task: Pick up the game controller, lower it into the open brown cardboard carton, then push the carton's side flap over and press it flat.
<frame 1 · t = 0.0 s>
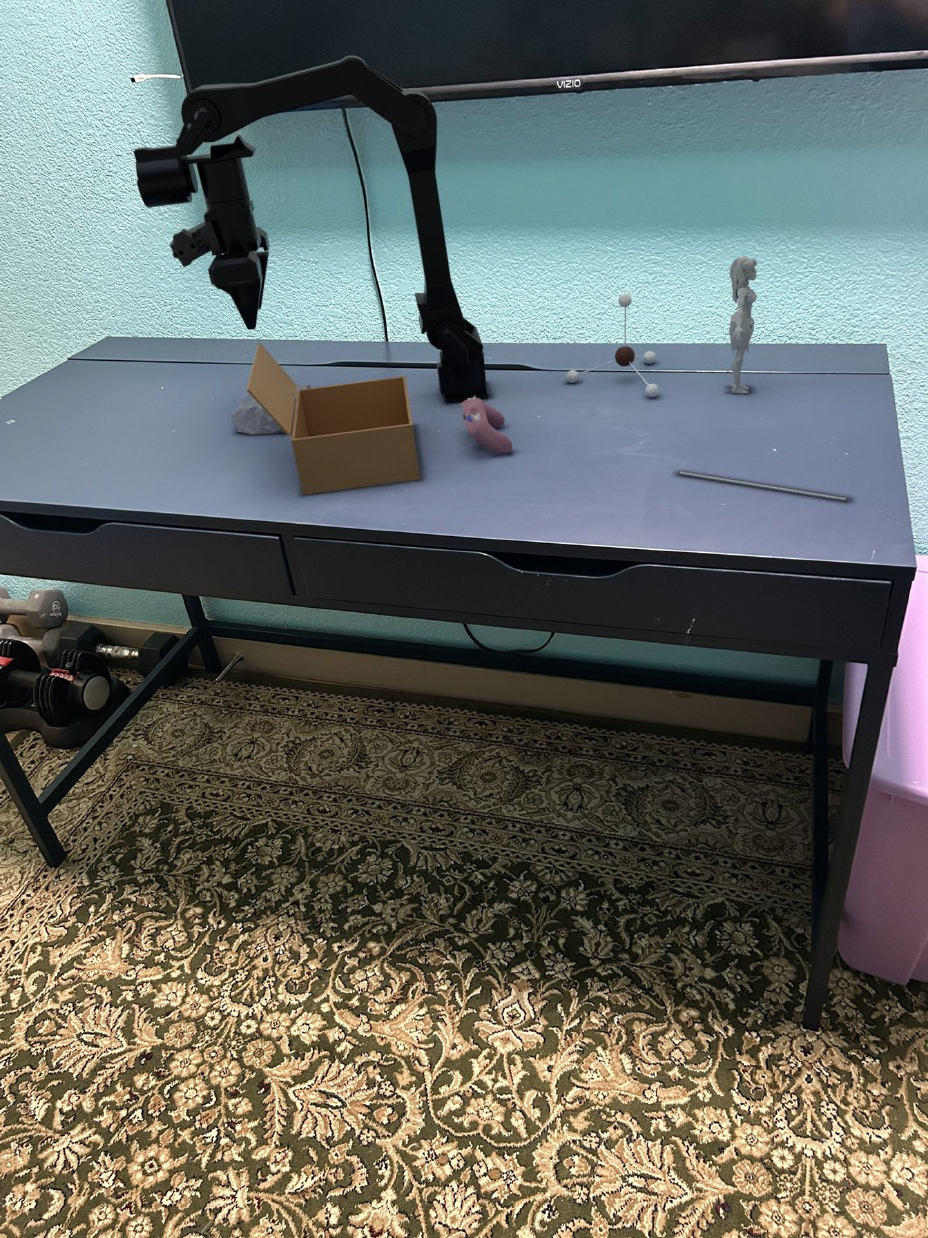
hand: (254, 318, 125), 15 cm above the table, tool pointing down, fingers open, 9 cm apart
carton: (360, 458, 120), on the table
human figurine: (734, 391, 126), on the table
video game controller: (487, 443, 120), on the table
stone block: (273, 419, 134), on the table
flap: (273, 387, 113), point 11 cm above the table, hinge at 120.0°
rod: (760, 490, 104), on the table
molecular model: (631, 385, 132), on the table
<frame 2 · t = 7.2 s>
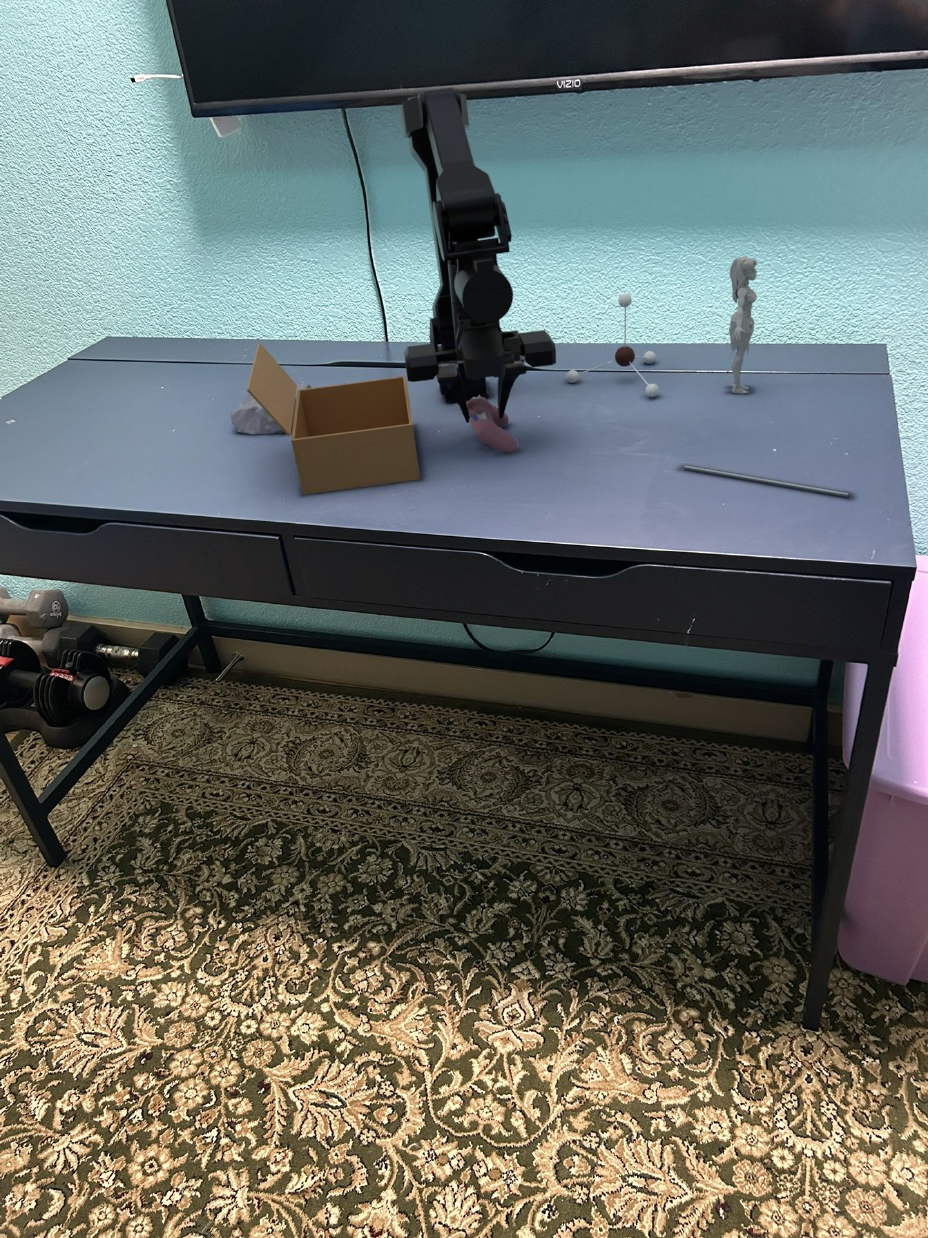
hand: (484, 419, 118), 3 cm above the table, tool pointing down, fingers closed on video game controller, 4 cm apart
video game controller: (491, 442, 120), on the table, touching gripper
rod: (763, 485, 104), on the table
everything else where it was.
when the fingers open (4 cm above the table, at t = 12.6 s): video game controller stays where it is, resting on carton.
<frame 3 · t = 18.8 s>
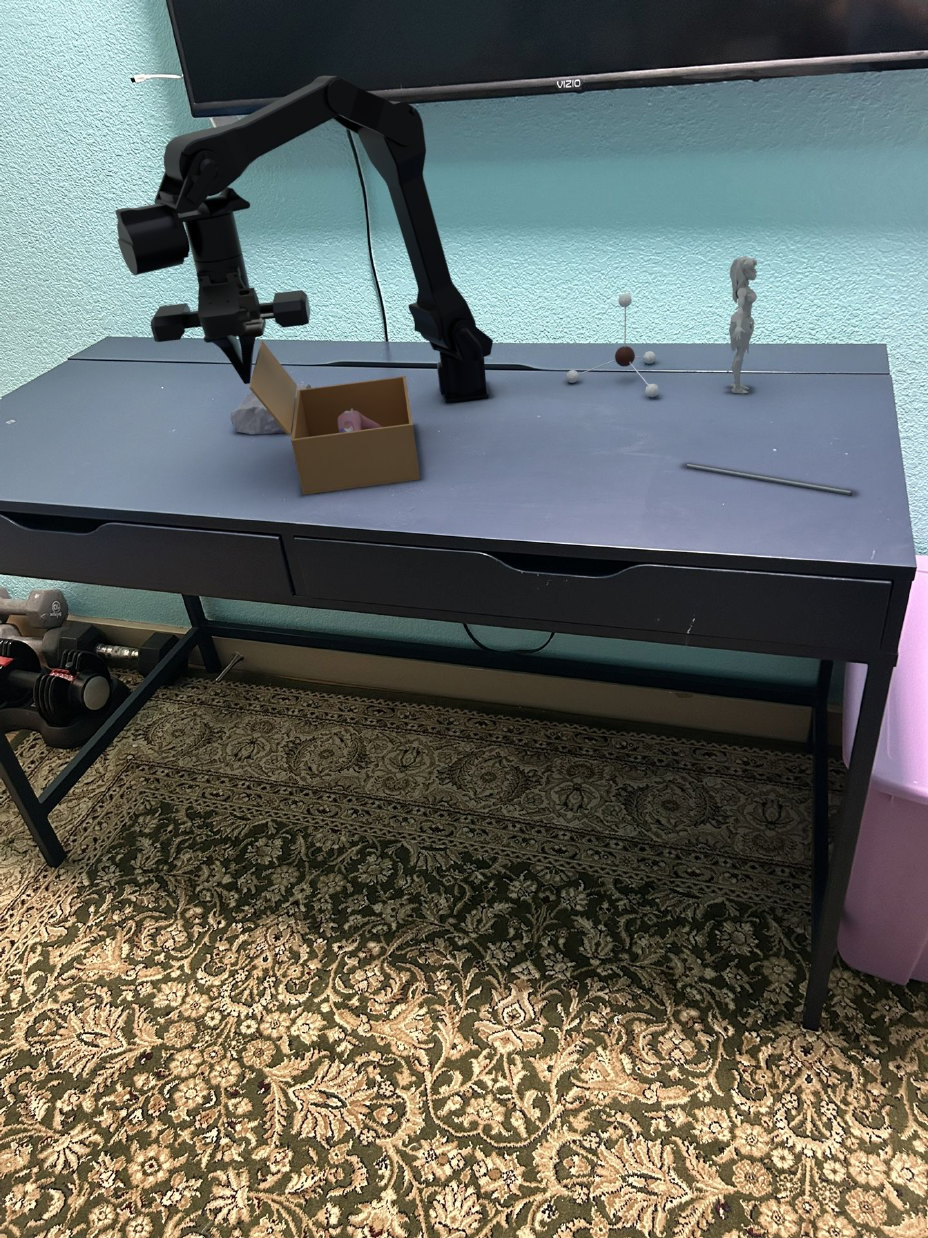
hand: (247, 382, 115), 11 cm above the table, tool pointing down, fingers closed
video game controller: (365, 456, 119), resting on carton
flap: (274, 386, 113), point 11 cm above the table, hinge at 116.6°, touching gripper
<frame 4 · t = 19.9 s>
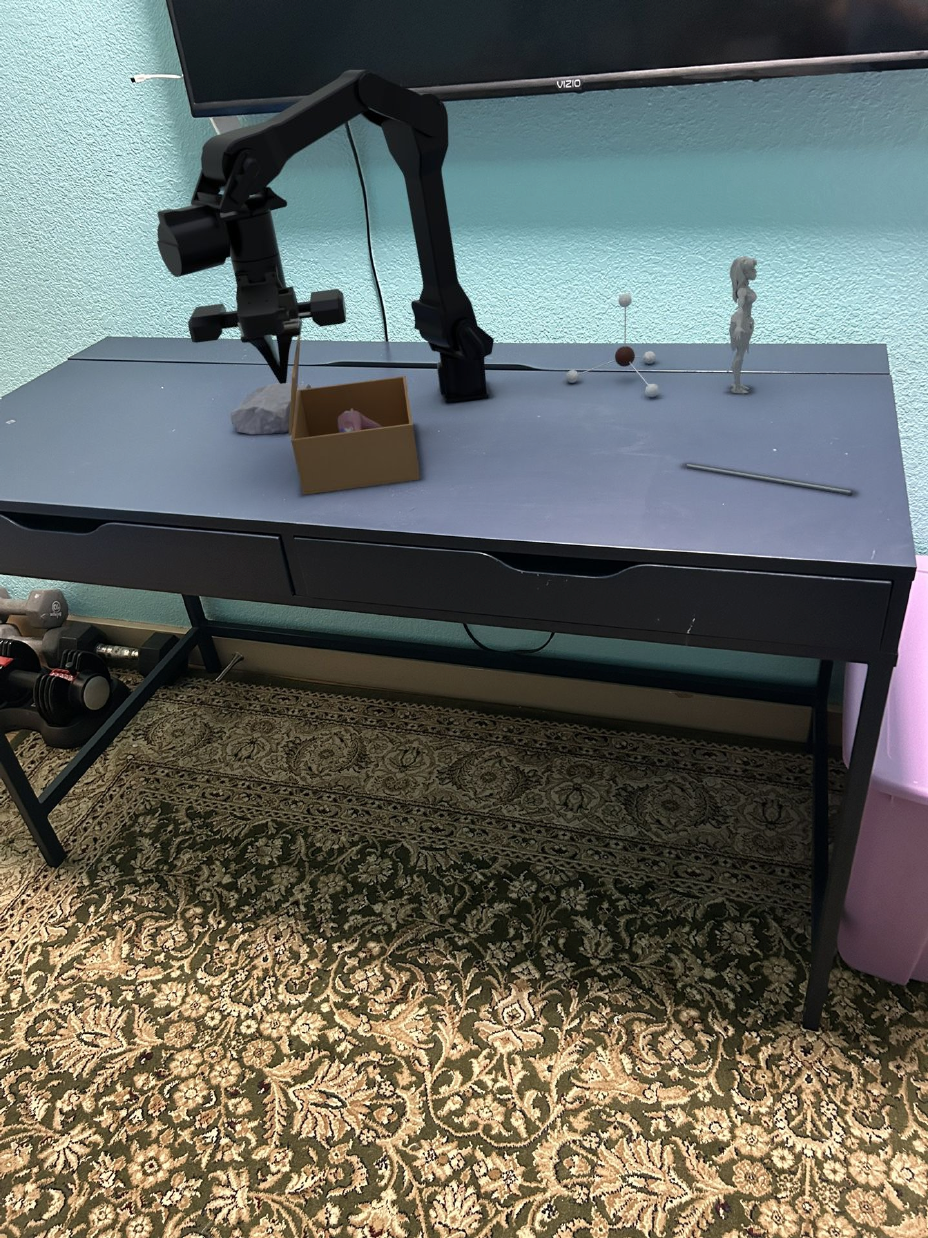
hand: (283, 382, 115), 11 cm above the table, tool pointing down, fingers closed
flap: (294, 381, 113), point 12 cm above the table, hinge at 75.5°
everything else where it was.
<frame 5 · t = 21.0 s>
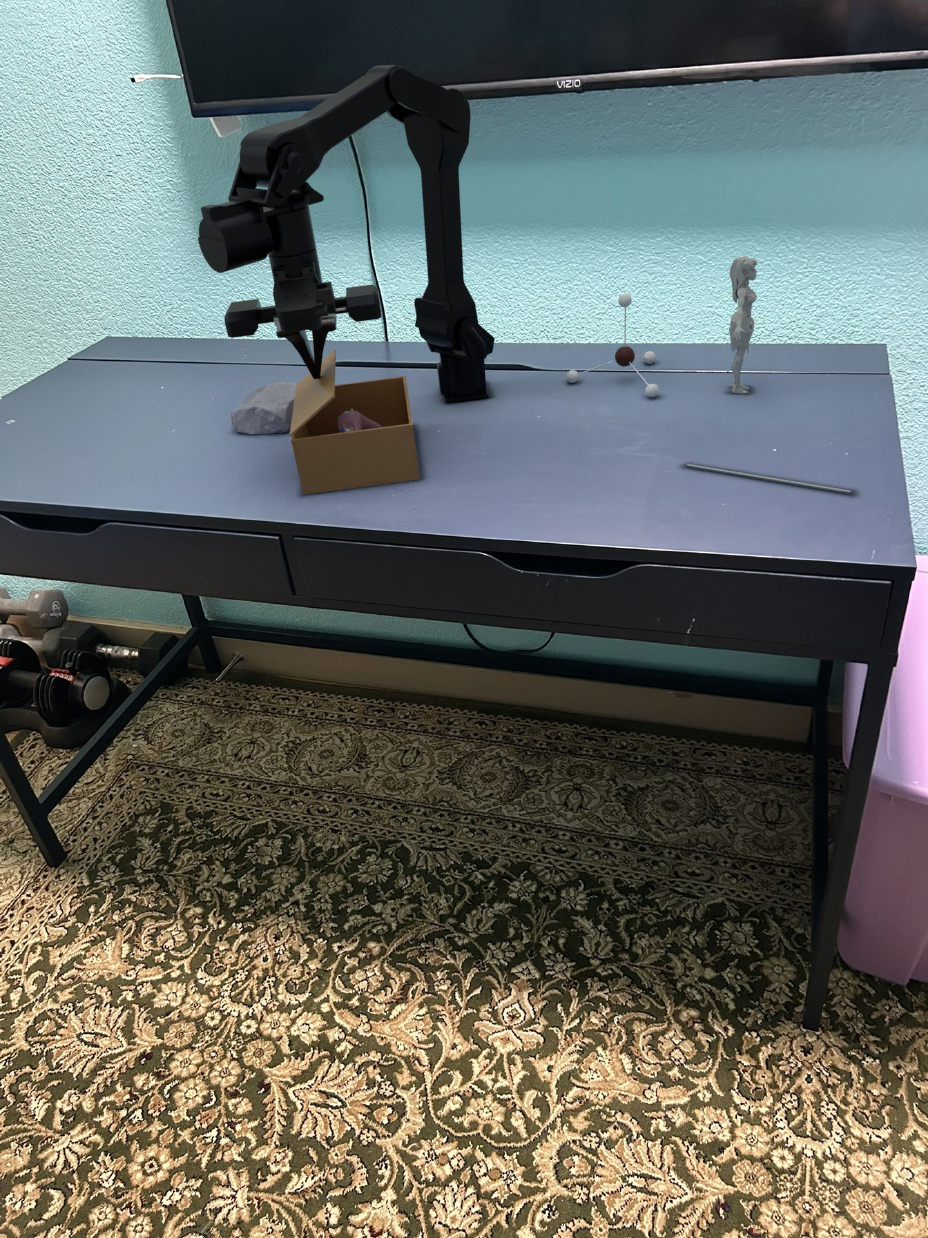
hand: (317, 378, 115), 11 cm above the table, tool pointing down, fingers closed
flap: (314, 390, 114), point 10 cm above the table, hinge at 34.6°, touching gripper
everything else where it was.
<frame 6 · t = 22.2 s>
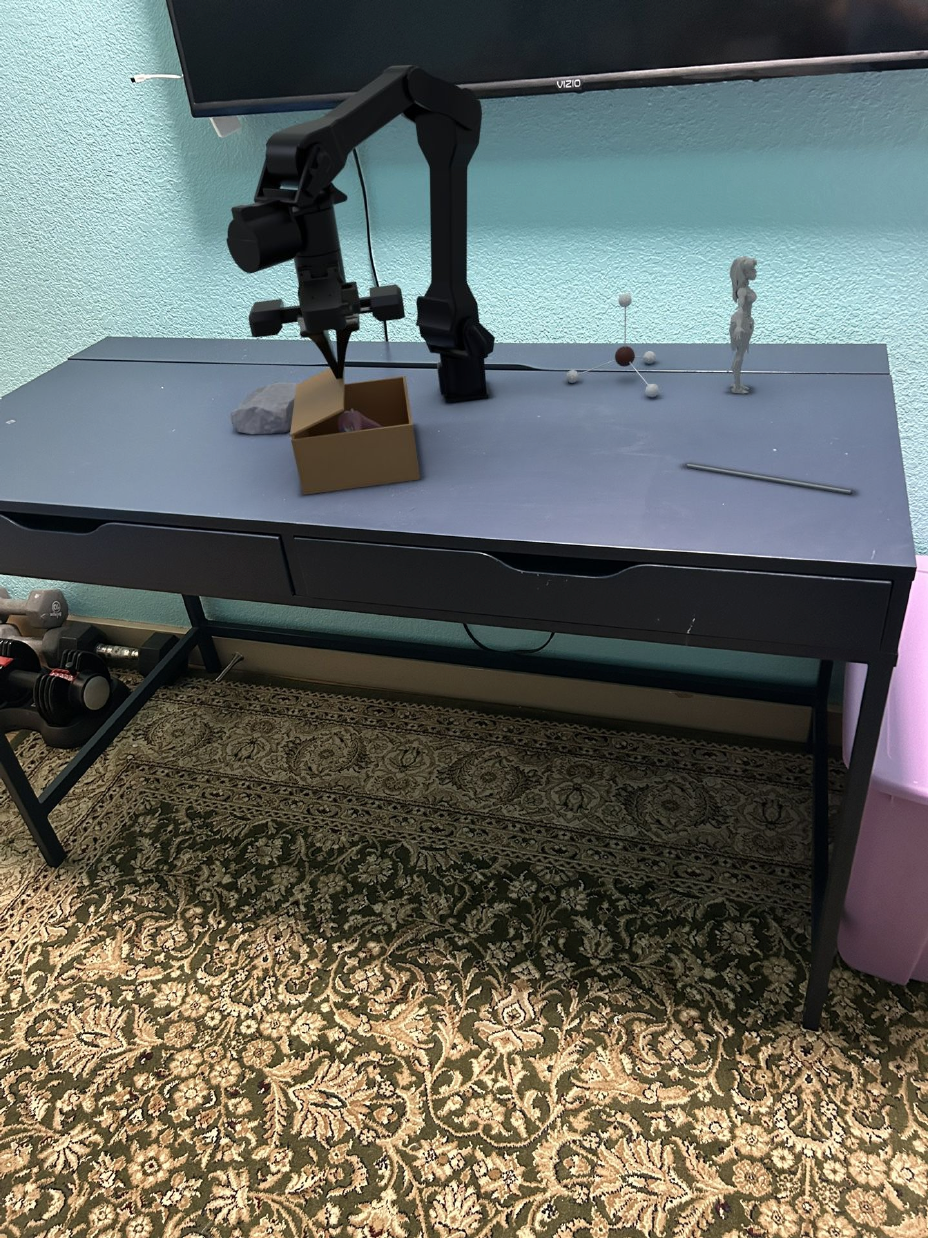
hand: (339, 377, 115), 10 cm above the table, tool pointing down, fingers closed
flap: (318, 396, 114), point 9 cm above the table, hinge at 19.4°
everything else where it was.
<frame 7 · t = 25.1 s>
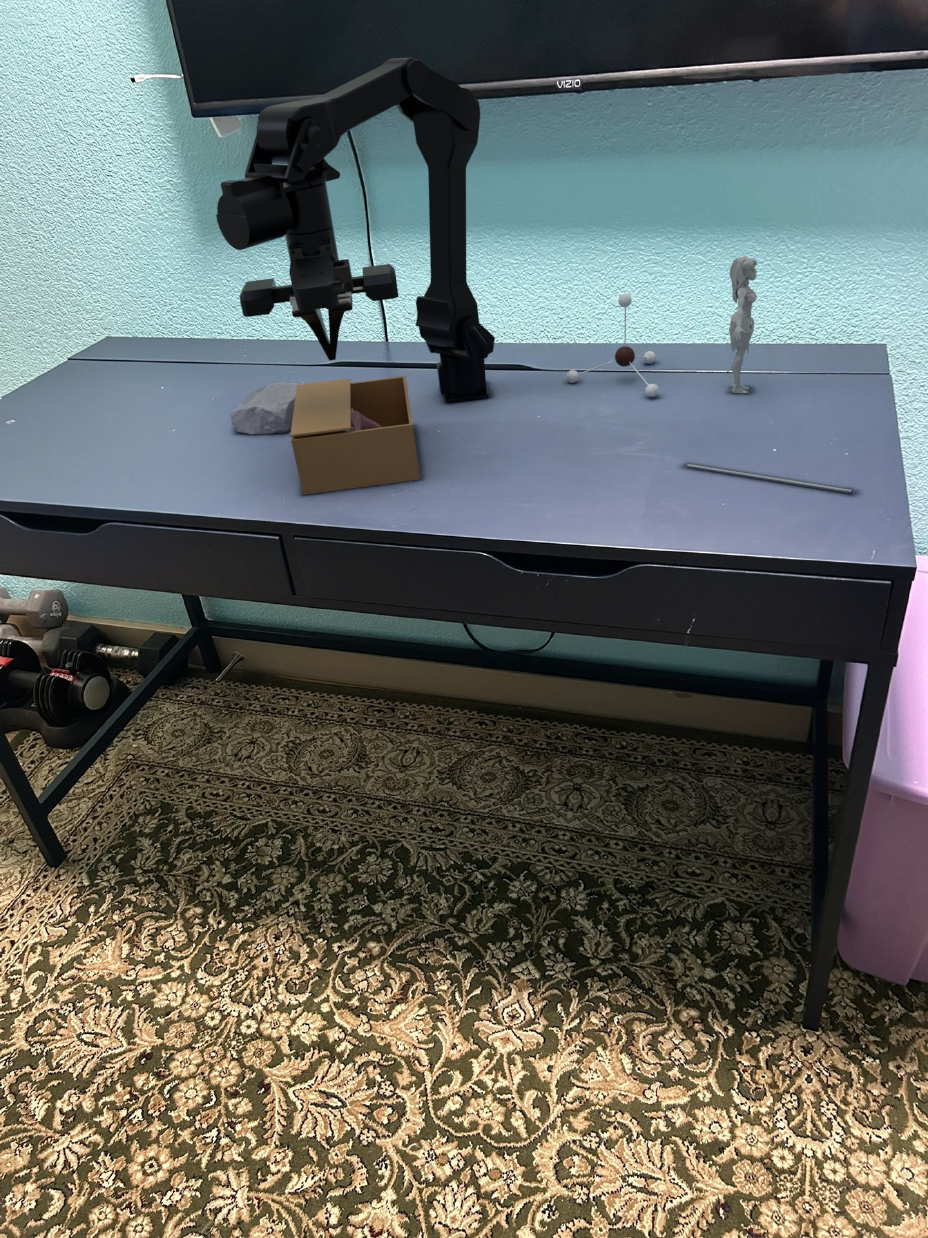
hand: (332, 359, 114), 13 cm above the table, tool pointing down, fingers closed
flap: (322, 405, 115), point 8 cm above the table, hinge at -0.3°
everything else where it was.
at the end: video game controller inside the target area in the carton (0.7 cm from its centre), point 0.2 cm above the carton's base; flap at +0° (first picture: +120°) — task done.
